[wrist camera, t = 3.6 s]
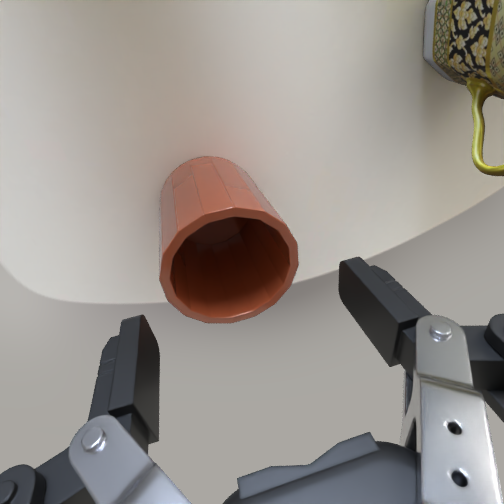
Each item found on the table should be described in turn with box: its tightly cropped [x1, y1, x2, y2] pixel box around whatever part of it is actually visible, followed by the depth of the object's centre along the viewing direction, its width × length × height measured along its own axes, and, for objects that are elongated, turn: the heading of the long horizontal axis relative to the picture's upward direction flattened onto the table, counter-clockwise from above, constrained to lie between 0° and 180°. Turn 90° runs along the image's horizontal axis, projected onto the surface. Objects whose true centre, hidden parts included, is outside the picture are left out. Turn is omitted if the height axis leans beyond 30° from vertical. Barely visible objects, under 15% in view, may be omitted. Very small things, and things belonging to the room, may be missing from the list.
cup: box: [159, 157, 299, 323], centre depth 17 cm, size 6×6×8 cm
